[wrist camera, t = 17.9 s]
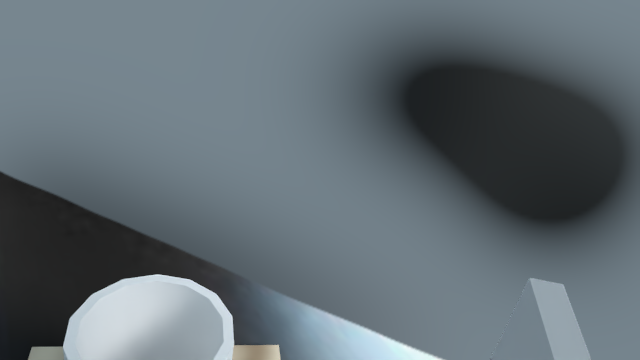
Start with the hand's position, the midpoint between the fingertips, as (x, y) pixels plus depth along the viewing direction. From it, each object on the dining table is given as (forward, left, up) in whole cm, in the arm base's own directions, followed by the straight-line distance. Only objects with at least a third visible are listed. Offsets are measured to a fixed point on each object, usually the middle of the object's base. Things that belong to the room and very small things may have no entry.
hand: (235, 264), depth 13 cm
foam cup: (+3, -14, -31) cm, 34 cm away
